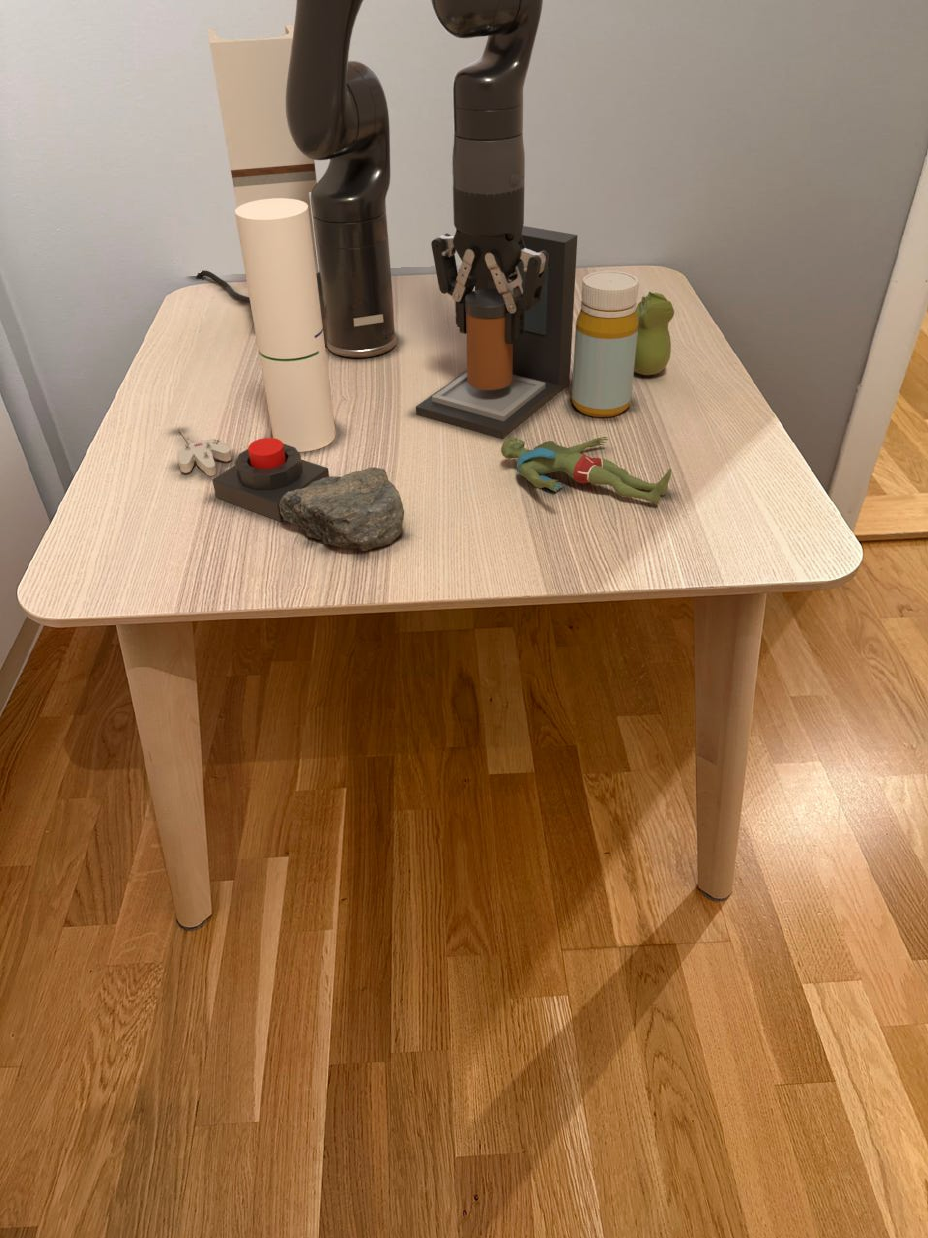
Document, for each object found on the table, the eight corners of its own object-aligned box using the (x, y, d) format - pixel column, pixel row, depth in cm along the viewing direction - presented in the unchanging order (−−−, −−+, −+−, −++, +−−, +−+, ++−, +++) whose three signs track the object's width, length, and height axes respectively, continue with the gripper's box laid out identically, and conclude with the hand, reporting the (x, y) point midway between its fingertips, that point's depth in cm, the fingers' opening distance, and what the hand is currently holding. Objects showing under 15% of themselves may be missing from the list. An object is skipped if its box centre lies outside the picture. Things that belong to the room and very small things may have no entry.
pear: (653, 360, 121) (662, 283, 115) (676, 376, 118) (686, 298, 111) (616, 368, 120) (623, 291, 113) (638, 385, 116) (646, 306, 110)
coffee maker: (487, 363, 122) (487, 219, 110) (569, 383, 117) (577, 234, 105) (415, 414, 111) (406, 260, 100) (502, 438, 106) (503, 280, 95)
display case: (332, 323, 133) (300, 37, 111) (257, 331, 132) (209, 42, 109) (323, 295, 142) (291, 24, 120) (252, 302, 140) (207, 29, 118)
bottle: (628, 421, 109) (641, 293, 99) (568, 416, 110) (575, 289, 100) (632, 394, 114) (644, 270, 104) (574, 390, 115) (582, 267, 106)
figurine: (648, 499, 87) (473, 454, 93) (640, 536, 89) (469, 491, 95) (686, 448, 100) (530, 412, 105) (679, 483, 102) (526, 445, 107)
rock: (413, 504, 96) (410, 461, 93) (400, 561, 88) (396, 516, 85) (294, 501, 97) (287, 458, 94) (271, 557, 89) (262, 513, 86)
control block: (215, 497, 98) (208, 464, 95) (267, 464, 103) (261, 431, 100) (280, 521, 94) (274, 487, 91) (330, 485, 99) (326, 452, 97)
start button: (243, 464, 96) (240, 449, 95) (266, 449, 98) (264, 434, 97) (269, 473, 94) (266, 458, 93) (293, 458, 96) (290, 443, 95)
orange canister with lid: (498, 394, 108) (498, 310, 102) (457, 383, 111) (455, 300, 104) (528, 370, 113) (530, 288, 107) (489, 361, 116) (489, 280, 109)
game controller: (198, 483, 100) (193, 462, 98) (137, 451, 106) (131, 430, 104) (240, 462, 103) (236, 441, 102) (179, 432, 109) (174, 411, 108)
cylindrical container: (345, 426, 109) (320, 200, 93) (319, 455, 104) (287, 222, 88) (291, 418, 111) (257, 195, 95) (262, 446, 106) (221, 216, 90)
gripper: (566, 180, 97) (559, 337, 107) (450, 163, 103) (454, 314, 113) (531, 198, 92) (527, 361, 102) (411, 180, 98) (420, 335, 109)
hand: (489, 335), depth 108 cm, fingers closed on orange canister with lid, 5 cm apart
